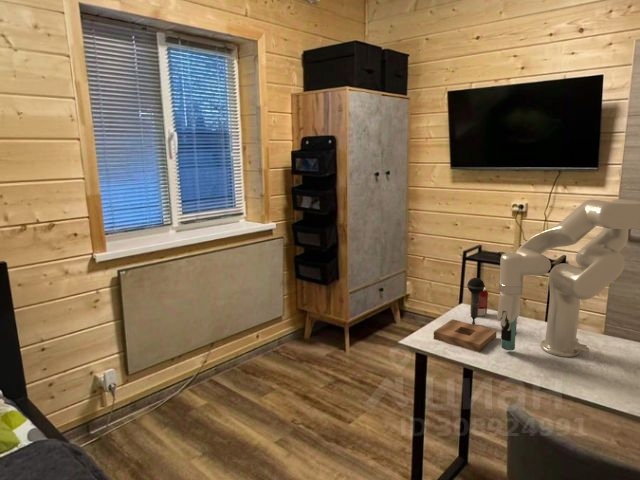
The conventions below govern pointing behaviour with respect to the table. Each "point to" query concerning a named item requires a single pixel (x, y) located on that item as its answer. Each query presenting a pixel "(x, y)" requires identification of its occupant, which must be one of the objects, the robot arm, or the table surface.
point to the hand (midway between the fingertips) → (508, 337)
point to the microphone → (475, 295)
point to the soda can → (482, 303)
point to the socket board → (465, 335)
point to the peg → (511, 344)
